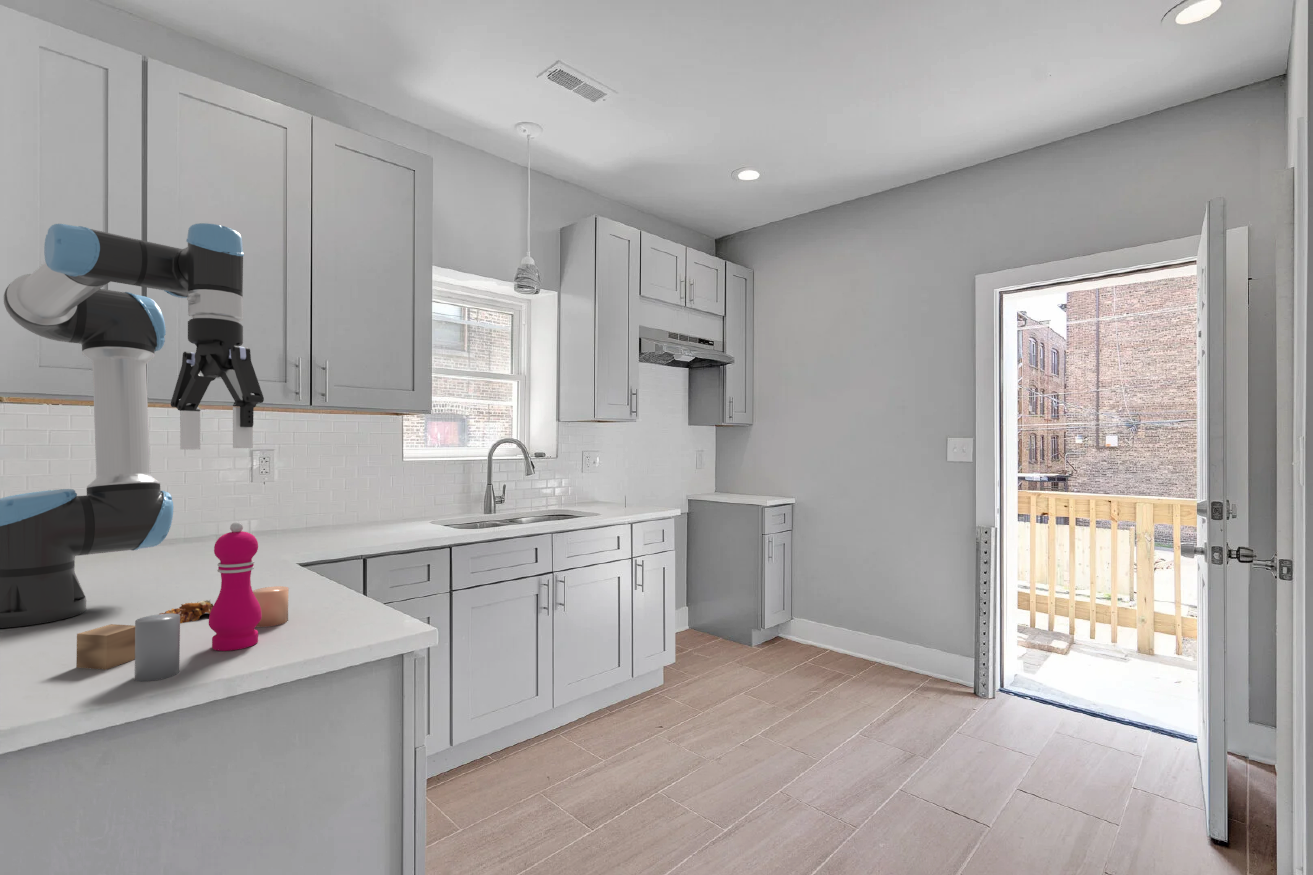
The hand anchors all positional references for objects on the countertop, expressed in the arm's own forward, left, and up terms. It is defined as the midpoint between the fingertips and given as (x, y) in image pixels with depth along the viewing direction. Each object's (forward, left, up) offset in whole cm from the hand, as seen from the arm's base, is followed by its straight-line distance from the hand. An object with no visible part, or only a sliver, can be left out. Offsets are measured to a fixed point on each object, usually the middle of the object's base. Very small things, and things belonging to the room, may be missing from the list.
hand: (215, 449), depth 105 cm
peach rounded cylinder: (-2, +12, -32) cm, 34 cm away
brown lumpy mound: (-20, +6, -33) cm, 38 cm away
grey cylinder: (+8, -12, -32) cm, 35 cm away
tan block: (-4, -12, -32) cm, 35 cm away
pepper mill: (+5, +1, -32) cm, 32 cm away
